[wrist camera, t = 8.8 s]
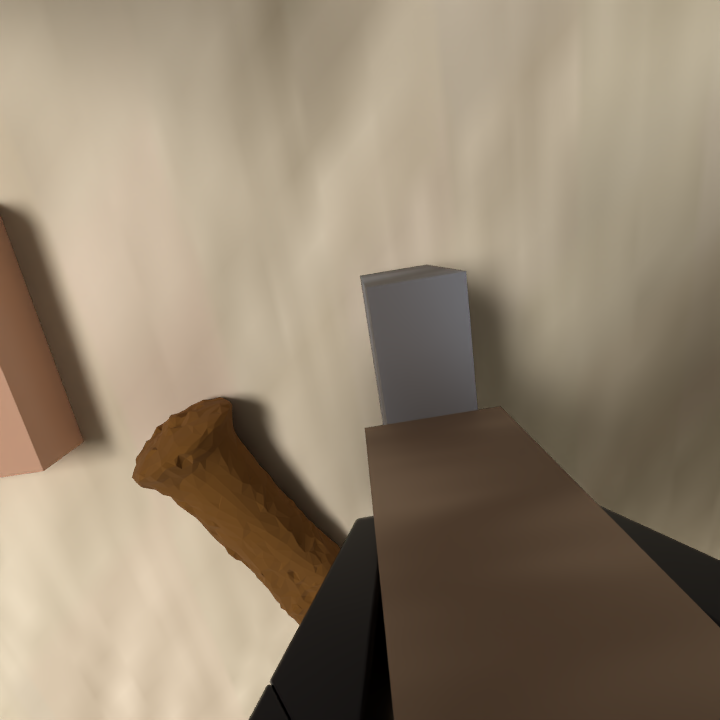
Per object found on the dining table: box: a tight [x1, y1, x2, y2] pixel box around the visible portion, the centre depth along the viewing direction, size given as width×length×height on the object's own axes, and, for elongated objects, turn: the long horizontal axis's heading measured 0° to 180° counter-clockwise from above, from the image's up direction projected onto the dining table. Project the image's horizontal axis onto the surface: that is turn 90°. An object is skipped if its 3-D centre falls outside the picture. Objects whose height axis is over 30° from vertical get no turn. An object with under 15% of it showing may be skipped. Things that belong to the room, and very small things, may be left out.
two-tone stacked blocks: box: [360, 265, 720, 720], centre depth 8 cm, size 3×9×10 cm, turn 9°
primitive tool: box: [132, 397, 340, 625], centre depth 15 cm, size 19×6×4 cm, turn 35°
